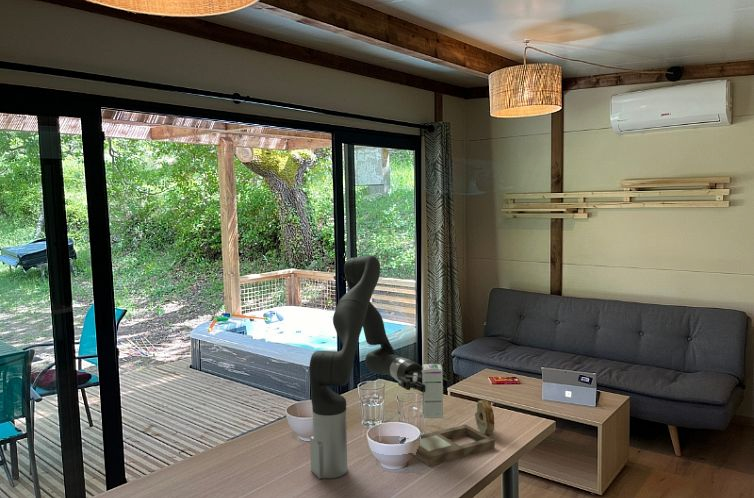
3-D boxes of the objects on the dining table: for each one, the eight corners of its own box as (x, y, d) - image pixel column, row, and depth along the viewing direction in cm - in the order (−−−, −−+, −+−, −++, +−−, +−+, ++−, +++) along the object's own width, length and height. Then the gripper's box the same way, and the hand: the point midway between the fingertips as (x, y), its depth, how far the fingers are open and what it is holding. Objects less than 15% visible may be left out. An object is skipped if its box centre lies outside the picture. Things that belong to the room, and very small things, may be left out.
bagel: (496, 438, 176) (496, 406, 175) (485, 438, 176) (485, 407, 175) (485, 425, 186) (485, 395, 186) (474, 426, 186) (474, 396, 185)
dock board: (429, 466, 158) (428, 456, 157) (402, 447, 170) (402, 438, 170) (494, 448, 169) (494, 439, 169) (465, 432, 181) (465, 423, 181)
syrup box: (443, 418, 163) (443, 369, 162) (422, 418, 163) (423, 369, 162) (441, 411, 169) (441, 363, 167) (421, 411, 169) (421, 363, 168)
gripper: (386, 363, 174) (415, 377, 160) (425, 356, 181) (456, 370, 166) (386, 387, 175) (415, 403, 160) (425, 379, 181) (456, 395, 167)
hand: (436, 386), depth 163 cm, fingers closed on syrup box, 7 cm apart
